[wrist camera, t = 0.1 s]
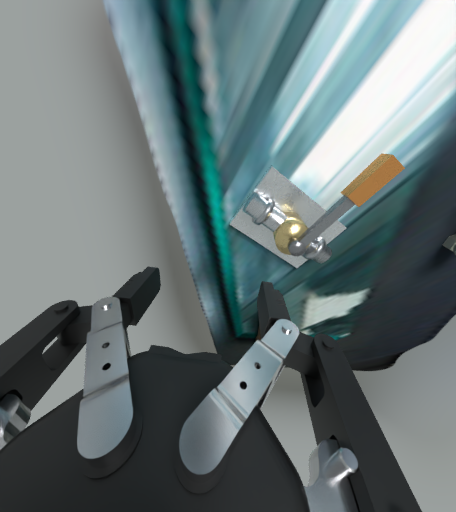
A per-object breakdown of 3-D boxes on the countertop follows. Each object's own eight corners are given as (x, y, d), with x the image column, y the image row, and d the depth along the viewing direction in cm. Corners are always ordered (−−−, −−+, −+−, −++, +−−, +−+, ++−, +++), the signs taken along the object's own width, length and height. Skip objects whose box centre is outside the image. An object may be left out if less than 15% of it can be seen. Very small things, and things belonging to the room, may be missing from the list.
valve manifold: (270, 165, 28) (278, 174, 21) (342, 224, 33) (367, 246, 26) (230, 221, 34) (226, 241, 28) (295, 264, 39) (305, 290, 32)
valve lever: (294, 253, 28) (297, 259, 26) (283, 245, 27) (286, 251, 26) (393, 166, 20) (405, 168, 18) (381, 152, 19) (392, 154, 18)
